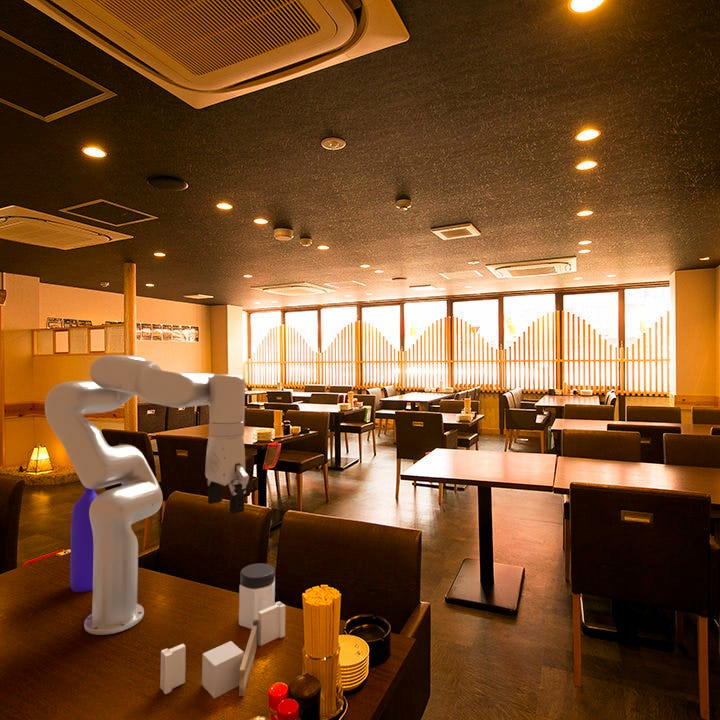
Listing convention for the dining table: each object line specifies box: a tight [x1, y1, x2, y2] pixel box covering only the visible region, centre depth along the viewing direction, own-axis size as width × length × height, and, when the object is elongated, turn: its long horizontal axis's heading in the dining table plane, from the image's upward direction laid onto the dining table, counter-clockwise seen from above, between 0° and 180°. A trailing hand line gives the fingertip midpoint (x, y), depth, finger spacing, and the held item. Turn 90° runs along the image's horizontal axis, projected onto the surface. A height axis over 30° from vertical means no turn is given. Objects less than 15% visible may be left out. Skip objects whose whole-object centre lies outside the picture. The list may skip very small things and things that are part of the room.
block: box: [201, 640, 245, 699], centre depth 88 cm, size 5×6×6 cm
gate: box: [238, 620, 259, 697], centre depth 93 cm, size 1×16×5 cm, turn 4°
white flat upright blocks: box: [159, 601, 286, 695], centre depth 96 cm, size 2×27×7 cm, turn 134°
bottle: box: [69, 487, 99, 593], centre depth 127 cm, size 8×8×30 cm
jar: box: [238, 562, 276, 630], centre depth 111 cm, size 9×8×12 cm
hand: (225, 507), depth 101 cm, fingers open, 9 cm apart
